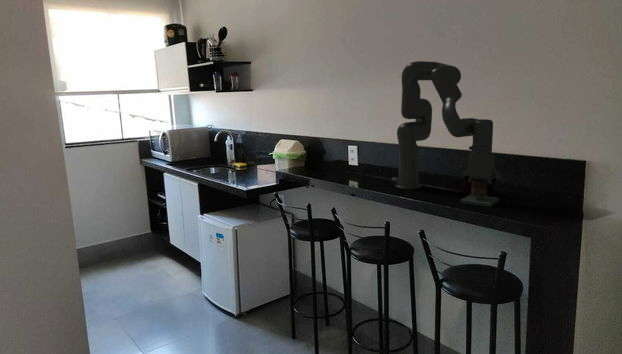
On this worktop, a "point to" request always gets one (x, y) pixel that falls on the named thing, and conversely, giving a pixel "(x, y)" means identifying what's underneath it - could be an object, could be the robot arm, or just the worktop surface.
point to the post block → (479, 200)
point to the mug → (465, 187)
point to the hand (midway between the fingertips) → (480, 192)
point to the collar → (479, 187)
